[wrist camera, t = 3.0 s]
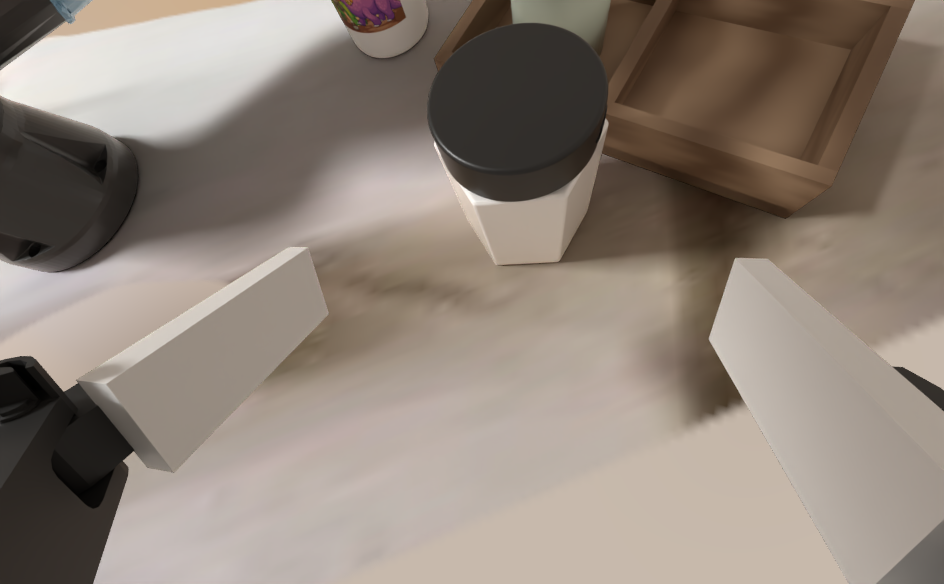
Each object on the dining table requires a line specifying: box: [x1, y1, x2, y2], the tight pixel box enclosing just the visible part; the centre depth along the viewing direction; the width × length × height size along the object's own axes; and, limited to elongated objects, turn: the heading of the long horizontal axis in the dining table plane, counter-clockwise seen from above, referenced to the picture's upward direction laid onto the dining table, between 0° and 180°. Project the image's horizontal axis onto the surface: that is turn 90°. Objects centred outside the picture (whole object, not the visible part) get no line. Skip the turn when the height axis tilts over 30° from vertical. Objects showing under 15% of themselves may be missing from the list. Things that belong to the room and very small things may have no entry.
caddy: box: [434, 0, 915, 219], centre depth 27 cm, size 27×14×4 cm, turn 60°
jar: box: [427, 23, 609, 265], centre depth 22 cm, size 9×8×12 cm
